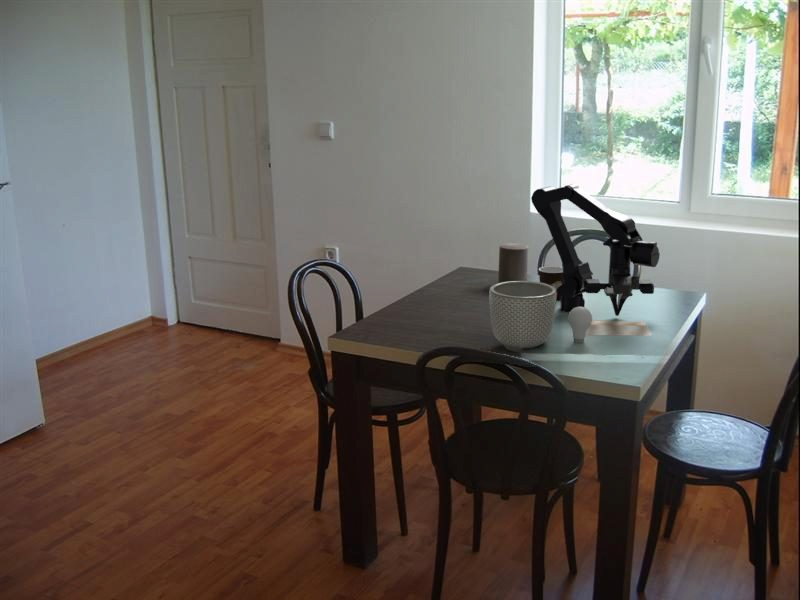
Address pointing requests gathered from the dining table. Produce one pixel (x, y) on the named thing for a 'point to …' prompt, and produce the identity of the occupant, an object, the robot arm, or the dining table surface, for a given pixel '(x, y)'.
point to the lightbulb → (579, 322)
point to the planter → (522, 313)
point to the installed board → (618, 330)
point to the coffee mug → (552, 277)
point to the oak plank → (615, 323)
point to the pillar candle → (513, 262)
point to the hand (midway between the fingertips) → (616, 315)
